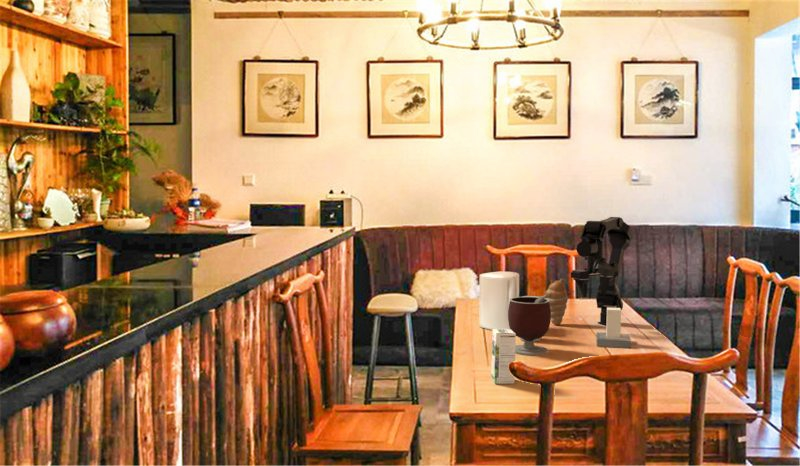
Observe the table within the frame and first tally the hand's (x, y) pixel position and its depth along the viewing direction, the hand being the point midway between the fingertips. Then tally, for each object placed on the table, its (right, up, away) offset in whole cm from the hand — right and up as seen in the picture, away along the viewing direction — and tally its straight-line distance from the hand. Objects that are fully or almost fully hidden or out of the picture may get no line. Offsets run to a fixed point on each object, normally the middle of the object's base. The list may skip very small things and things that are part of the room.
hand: (594, 296), depth 271 cm
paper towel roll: (-33, -13, +3) cm, 36 cm away
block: (+1, -12, -20) cm, 23 cm away
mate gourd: (-29, -16, -31) cm, 45 cm away
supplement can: (-26, -14, -13) cm, 33 cm away
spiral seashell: (-11, -12, +12) cm, 21 cm away
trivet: (+1, -15, -20) cm, 25 cm away
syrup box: (-43, -19, -66) cm, 81 cm away
